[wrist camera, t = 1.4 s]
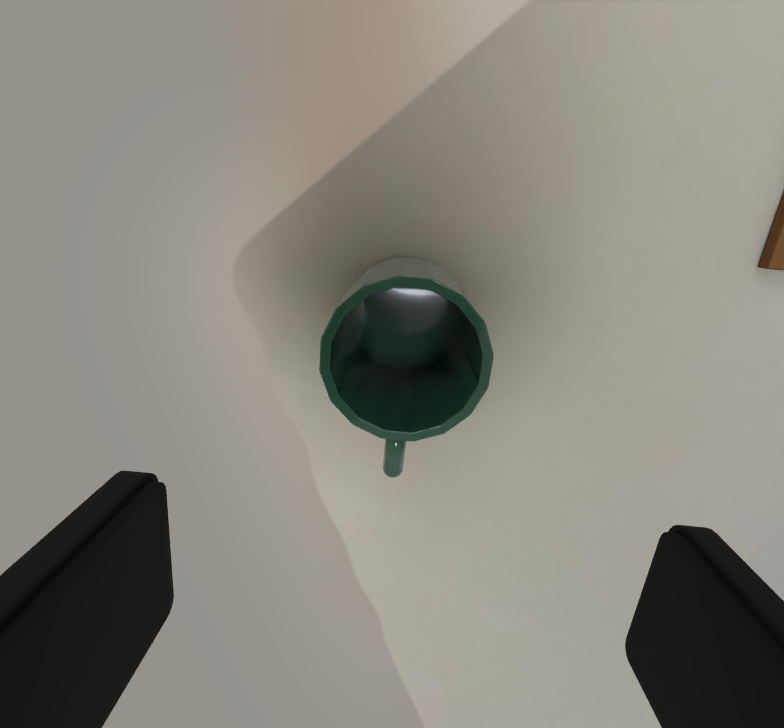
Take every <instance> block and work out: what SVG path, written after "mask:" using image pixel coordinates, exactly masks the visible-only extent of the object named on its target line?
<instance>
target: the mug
mask: <svg viewBox="0 0 784 728" xmlns="http://www.w3.org/2000/svg"><path fill="white" fill-rule="evenodd" d="M492 362H493V351H492V347H491V343H490V339H489V335H488V331H487V327H486V324H485V322H484V320H483V319H482V318H481V316H480V315H479V314H478V312H477V311H476V309H475V308H474V307H473V305H472V304H471V303H470V301H469V300H468V299H467V297H466V296H465V295H464V293H463V292H462V290H461V289H460V288H459V287H458V285H457V284H456V283H455V281H454V280H453V279H452V278H451V276H450V275H449V274H448V272H446V271H445V270H443V269H442V268H440V267H439V266H437V265H436V264H434V263H431V262H429V261H427V260H424V259H420V258H415V257H396V258H392V259H388V260H385V261H382V262H380V263H377V264H376V265H374V266H373V267H371V268H370V269H369V270H367V271H366V272H365V273H364V274H363V275H362V276H361V277H360V278H358V279H357V281H356V282H355V283H354V285H353V286H352V287H351V289H350V290H349V291H348V293H347V294H346V296H345V297H344V298H343V300H342V301H341V302H340V304H339V305H338V306H337V308H336V309H335V311H334V313H333V315H332V317H331V319H330V321H329V323H328V325H327V327H326V329H325V331H324V333H323V335H322V337H321V346H320V368H319V370H320V374H321V377H322V379H323V382H324V385H325V387H326V390H327V392H328V395H329V398H330V400H331V402H332V403H333V404H334V405H335V406H336V407H337V408H338V409H339V410H340V411H341V413H342V414H343V415H344V416H345V417H346V418H347V419H348V420H349V421H350V422H351V423H352V424H353V425H355V426H357V427H359V428H361V429H363V430H365V431H367V432H369V433H371V434H373V435H376V436H378V437H380V438H384V439H385V451H384V462H383V470H384V472H385V474H386V475H387V476H389V477H397V476H399V475H400V474H401V472H402V470H403V462H404V454H405V445H406V441H417V440H420V439H424V438H428V437H432V436H436V435H440V434H443V433H445V432H447V431H448V430H450V429H451V428H452V427H454V426H455V425H457V424H458V423H459V422H461V421H462V420H464V419H465V418H467V417H468V416H469V415H470V414H471V413H472V412H473V410H474V409H475V407H476V406H477V404H478V402H479V401H480V399H481V398H482V396H483V395H484V393H485V392H486V390H487V387H488V385H489V379H490V374H491V368H492Z"/></svg>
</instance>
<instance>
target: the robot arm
mask: <svg viewBox="0 0 784 728" xmlns="http://www.w3.org/2000/svg"><path fill="white" fill-rule="evenodd" d="M173 596H174V594H173V580H172V565H171V551H170V537H169V522H168V509H167V494H166V486H165V485H164V483H162V482H158V479H157V477H156V475H154V474H152V473H143V472H142V473H141V472H132V471H120V472H118V473H117V474H115V475H114V476H113V477H112V478H111V479H109V480H108V481H107V482H106V483H105V484H104V485H103V486H102V487H101V488H99V489H98V490H97V491H96V492H95V493H94V494H92V495H91V496H90V497H89V498H88V499H87V500H86V501H85V502H83V503H82V504H81V505H80V506H79V507H78V508H77V509H76V510H74V511H73V512H72V513H71V514H70V515H69V516H67V518H65V519H64V520H63V521H62V522H61V523H60V524H58V525H57V526H56V527H55V528H54V529H53V530H52V531H50V532H49V533H48V534H47V535H46V536H45V537H44V538H43V539H41V540H40V541H39V542H38V543H37V544H36V545H35V546H33V547H32V548H31V549H30V550H29V551H28V552H27V553H25V554H24V555H23V556H22V557H21V558H20V559H19V560H18V561H16V563H14V564H13V565H12V566H11V567H10V568H8V569H7V570H6V571H5V572H4V573H3V574H2V575H1V576H0V728H102V726H103V725H104V723H105V721H106V720H107V718H108V716H109V715H110V713H111V711H112V710H113V708H114V706H115V705H116V703H117V701H118V699H119V698H120V696H121V694H122V692H123V691H124V689H125V688H126V686H127V684H128V683H129V681H130V679H131V678H132V676H133V674H134V673H135V671H136V669H137V668H138V666H139V664H140V662H141V661H142V659H143V658H144V656H145V654H146V653H147V651H148V649H149V648H150V646H151V644H152V643H153V641H154V639H155V637H156V636H157V634H158V632H159V631H160V629H161V627H162V626H163V624H164V622H165V621H166V619H167V617H168V615H169V613H170V610H171V607H172V603H173ZM625 648H626V654H627V658H628V661H629V663H630V665H631V667H632V669H633V671H634V673H635V675H636V677H637V679H638V681H639V683H640V685H641V687H642V689H643V691H644V693H645V695H646V697H647V699H648V701H649V703H650V705H651V707H652V709H653V711H654V713H655V715H656V717H657V719H658V721H659V723H660V725H661V727H662V728H784V601H783V600H782V599H781V598H780V597H779V596H778V595H777V594H776V593H775V592H774V591H773V590H772V589H771V588H770V587H769V586H768V585H767V584H766V583H765V582H764V581H763V580H762V579H761V578H760V577H759V576H758V575H757V574H756V573H755V572H754V571H753V570H752V569H751V568H750V567H749V566H748V565H747V564H746V563H745V562H744V561H743V560H742V559H741V558H740V557H739V556H738V555H737V554H736V553H735V552H734V551H733V550H732V549H731V548H730V547H729V546H728V545H727V544H726V543H725V542H724V541H723V540H722V539H721V538H720V537H719V535H718V534H717V533H715V532H714V531H713V530H711V529H709V528H704V527H693V526H683V525H675V526H673V527H672V528H670V530H669V532H665V533H663V534H662V535H661V537H660V539H659V542H658V545H657V548H656V551H655V554H654V557H653V560H652V563H651V566H650V569H649V572H648V575H647V578H646V581H645V584H644V587H643V590H642V593H641V596H640V599H639V602H638V605H637V608H636V611H635V614H634V617H633V620H632V623H631V626H630V629H629V632H628V635H627V638H626V642H625Z"/></svg>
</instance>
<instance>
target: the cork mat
mask: <svg viewBox="0 0 784 728" xmlns="http://www.w3.org/2000/svg"><path fill="white" fill-rule="evenodd" d="M758 267H761V268H767V269H777V270H784V194H783V197H782V200H781V202H780V205H779V208H778V211H777V214H776V217H775V220H774V223H773V225H772V228H771V231H770V234H769V237H768V240H767V243H766V246H765V248H764V251H763V254H762V257H761V260H760V263H759V266H758Z"/></svg>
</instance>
